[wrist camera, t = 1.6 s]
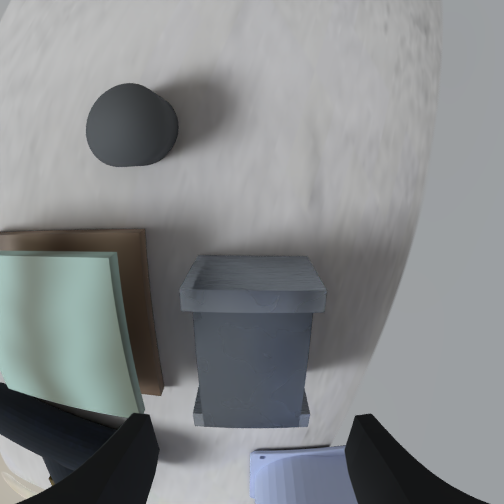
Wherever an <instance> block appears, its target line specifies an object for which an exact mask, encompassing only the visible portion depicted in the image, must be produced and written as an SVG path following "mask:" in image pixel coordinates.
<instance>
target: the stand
mask: <svg viewBox="0 0 504 504" xmlns="http://www.w3.org/2000/svg"><path fill="white" fill-rule="evenodd" d="M0 371H1V373H2V375H3V378H4V380H5V382H6V385H7V387H8V388H9V389H12V390H15V391H18V392H21V393H24V394H27V395H31V396H34V397H37V398H41V399H44V400H48V401H51V402H55V403H59V404H63V405H67V406H71V407H75V408H79V409H84V410H88V411H93V412H98V413H103V414H108V415H113V416H119V417H125V418H129V416H130V415H131V414H132V413H140V414H143V413H144V411H145V407H144V403H143V399H142V395H141V394H147V395H156V396H161V394H162V392H163V389H164V383H163V378H162V372H161V366H160V360H159V354H158V347H157V341H156V334H155V327H154V319H153V311H152V303H151V294H150V285H149V274H148V263H147V251H146V237H145V229H95V230H50V231H18V232H0Z"/></svg>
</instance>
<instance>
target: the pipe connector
mask: <svg viewBox="0 0 504 504" xmlns="http://www.w3.org/2000/svg"><path fill="white" fill-rule="evenodd" d="M116 431H117V430H115V429H112V428H109V427H106V426H103V425H100V424H97V423H94V422H91V421H88V420H85V419H83V418H80V417H77V416H75V415H72V414H70V413H67V412H65V411H62V410H60V409H57V408H55V407H53V406H50V405H48V404H46V403H43V402H41V401H39V400H37V399H35V398H32V397H30V396H28V395H26V394H24V393H21V392H18V391H15V390H12V389H9V388H8V387H7V385H6V384H4V383H0V434H1V435H3V436H5V437H6V438H8V439H10V440H11V441H13V442H15V443H17V444H19V445H21V446H22V447H24V448H26V449H28V450H30V451H32V452H34V453H36V454H38V455H40V456H42V457H43V460H44V462H45V464H46V467H47V469H48V471H49V473H50V477H49V480H50V482H51V485H52V486H53V485H55V484H56V483H58V482H59V481H61V480H62V479H64V478H65V477H67V476H68V475H69V474H71V473H72V472H73V471H75V470H76V469H77V468H78V467H80V466H81V465H82V464H83V463H84V462H85V461H87V460H88V459H89V458H90V457H91V456H92V455H93V454H94V453H95V452H96V451H98V450H99V449H100V448H101V447H102V446H103V445H104V443H105V442H106V441H107V440H108V439H109V438H110V437H111V436H112V435H113V434H114V433H115V432H116Z"/></svg>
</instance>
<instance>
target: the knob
mask: <svg viewBox="0 0 504 504" xmlns="http://www.w3.org/2000/svg"><path fill="white" fill-rule="evenodd" d="M177 134H178V119H177V116H176V113H175V111H174V109H173V108H172V106H171V105H170V104H169V103H168V102H167V101H165V100H164V99H163V98H161V97H160V96H158V95H157V94H155V93H154V92H152V91H151V90H150V89H148V88H146V87H144V86H142V85H139V84H133V83H127V84H121V85H118V86H115V87H113V88H111V89H109V90H108V91H106V92H105V93H104V94H102V95H101V96H100V97H99V98H98V99H97V101H96V102H95V103H94V105H93V107H92V108H91V111H90V113H89V116H88V119H87V124H86V137H87V141H88V145H89V147H90V149H91V151H92V152H93V154H94V155H95V156H96V157H97V158H98V159H99V160H100V161H102V162H103V163H105V164H107V165H110V166H115V167H129V166H145V165H150V164H153V163H156V162H157V161H159V160H161V159H162V158H163V157H165V156H166V155H167V154H168V153H169V151H170V150H171V149H172V147H173V145H174V143H175V141H176V138H177Z"/></svg>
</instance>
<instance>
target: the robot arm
mask: <svg viewBox="0 0 504 504" xmlns="http://www.w3.org/2000/svg"><path fill="white" fill-rule="evenodd" d="M158 454H159V447H158V443H157V440H156V436H155V433H154V429H153V426H152V422H151V418H150V415H148V414H140V413H132V414H131V415H130V416H129V418H128V419H127V420H126V421H125V422H124V423H123V424H122V425H121V427H120V428H119V429H118V430H117V431H116V432H115V433H114V434H113V435H112V436H111V437H110V438H109V439H108V440H107V441H106V442H105V443H104V445H103V446H102V447H101V448H100V449H99V450H98V451H96V452H95V453H94V454H93V455H92V456H91V457H90V458H89V459H88V460H87V461H85V462H84V463H83V464H82V465H81V466H80V467H78V468H77V469H76V470H75V471H73V472H72V473H71V474H69V475H68V476H67V477H65V478H64V479H62V480H61V481H59V482H58V483H56V484H55V485H53V486H51V487H50V488H48V489H46V490H45V491H43V492H41V493H39V494H37V495H35V496H32V497H30V498H28V499H26V500H24V501H22V502H19V503H17V504H146V501H147V498H148V495H149V492H150V489H151V485H152V482H153V479H154V476H155V472H156V466H157V461H158ZM250 497H251V498H255V504H489V503H486V502H484V501H481V500H478V499H476V498H474V497H472V496H470V495H468V494H466V493H464V492H462V491H460V490H458V489H456V488H454V487H452V486H451V485H449V484H448V483H446V482H444V481H443V480H442V479H440V478H439V477H437V476H436V475H434V474H433V473H432V472H430V471H429V470H428V469H427V468H425V467H424V466H423V465H422V464H421V463H419V462H418V461H417V460H416V459H415V458H414V457H413V456H412V455H411V454H409V453H408V452H407V451H406V450H405V449H404V448H403V447H402V446H401V445H400V444H399V443H398V442H397V441H396V440H395V439H394V438H393V437H392V436H391V434H390V433H389V432H388V431H387V430H386V429H385V428H384V427H383V426H382V425H381V424H380V423H379V421H378V420H377V419H376V418H375V417H374V416H373V415H372V414H364V415H356V416H355V418H354V421H353V425H352V428H351V431H350V435H349V438H348V441H347V444H346V445H343V446H335V447H325V448H313V449H299V450H277V451H253V452H252V453H251V454H250Z"/></svg>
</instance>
